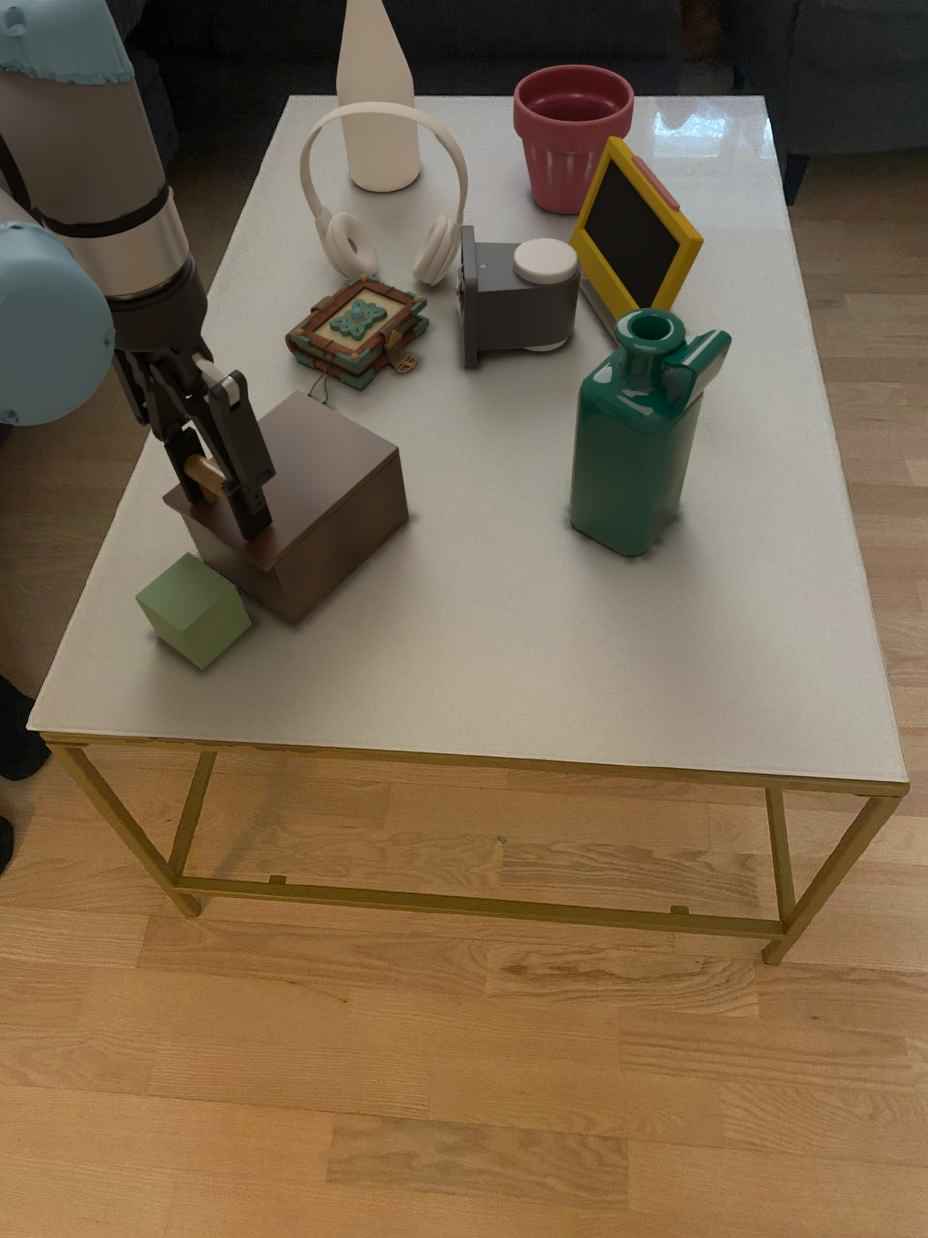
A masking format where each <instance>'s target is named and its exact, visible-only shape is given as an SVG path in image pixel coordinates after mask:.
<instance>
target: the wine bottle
mask: <svg viewBox="0 0 928 1238" xmlns="http://www.w3.org/2000/svg"><path fill="white" fill-rule="evenodd" d="M383 3H384V2H383V1H382V0H346V9H345V17H344V23H343V29H342V30H343V31H342V37H341V38H342V39H341V44H340V51H339V59H338V64H337V71H336V82H335V84H336V85H335V88H336V96H337V102H338V108H340V107H342V106H346V105H349V104H353V103H360V102H389V103H396V104H401V105H405V106H408V107H411V108H414V109H416V101H415V89H414V79H413V76H412V73H411V70H410V67H409V64H408V62H407V59H406V57H405V54H404V52H403V49H402V47H401V45H400V42H399V40H398V37H397V35H396V32H395V31H394V28H393V26H392V23H391V21H390V18H389V16H388V13H387V11H386V8H385V6H384V4H383ZM340 120H341V127H342V133H343V138H344V145H345V151H346V157H347V162H348V163H347V164H348V171H349V174H350V176H351V179H352V180H353V183H355V184H356V185H357V186H358V187H360V188H362V189H364V190H366V191H370V192H374V193H375V192H376V193H388V192H394V191H398V190H400V189H403V188H405V187H408V186H409V185H411V184H412V183H413V182H414V181H415V180H416V179H417V177H418V176H419V173H420V171H421V156H420V146H419V145H420V144H419V134H418V122H415V121H413V120H411V119H408V118H405V117H402V116H398V115H393V114H387V113H376V112H364V113H354V114H348V115H344V116H341V117H340Z"/></svg>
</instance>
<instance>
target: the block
mask: <svg viewBox="0 0 928 1238" xmlns="http://www.w3.org/2000/svg"><path fill="white" fill-rule="evenodd" d="M134 598H135V600H136V602H137V603H138V605H139V607H140V608H141V611H142V612H143V613H144V615H145V616H146V618H147V620H148V622H149V623H150V626H151V627H152V628H153V630H154V631H155V633H156V635H157V637H159V638H160V639H161V640H163V641H164V642H165V643H167V644H168V645H169V646H171V647H172V648H173V649H174V650H176V651H177V652H178V653H179V654H181V655H182V656H183V657H185V658H186V659H187V660H189V661H190V662H191V663H193V664H194V665H195V666H196V667H198V668H199V669H200V670H202V671H203V670H204V669H206V668H207V667H208V666H209V665H210V664H211V663H212V662H213V661H214V660H216V658H217V657H218V656H220V655H221V654H222V653H223V652H224V651H225V650H227V648H228V647H230V646H231V645H232V644H233V643H234V642H235V641H236V640H237V639H238V638H239V637H240V636H242V634H244V633H245V632H246V631H247V630H248V629H249V628H250V627H251V626H253V623H252V621H251V619H250V616H249V613H248V612H247V610H246V608H245V607H246V606H245V605H244V602H243V600H242V598H241V595H240V592H239V591H238V589H237V586H236V584H234V582H232V581H231V580H230V579H228V578H227V577H224V575H223V574H221V573H220V572H218V571H217V570H215V569H214V568H213V567H212V568H211V566H210V565H208V564H207V563H206V562H204V561H203V560H200V559H199V558H197V556H195V555H194V554H192V553H190V552H189V551H187V552H186V553H184V555H182V556H181V557H180V558H178V560H177V561H176V562H174V563H173V564H172V565H170V566H169V567H168V568H167V569H166V570H164V571H163V572H162V573H161V574H160V575H159V576H157V577H156V578H155V579H154V580H152V581H151V582H150V583H149V584H148V585H147V586H145V587H144V588H143V589H142V590H141V591H139V592H138V593H137V594H135V595H134Z"/></svg>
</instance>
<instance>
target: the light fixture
mask: <svg viewBox="0 0 928 1238" xmlns="http://www.w3.org/2000/svg"><path fill="white" fill-rule="evenodd" d="M475 240H476V238H475V227H474V225H462V226H461V242H460V266H459V267H458V269H457V285H456V287H455V288H454V290H455V292H456V293H455V294H456V304H457V311H458V318H459V319H458V320H460V324H461V333H462V351H463V353H462V354H463V366H464V367H477V361H478V360H477V356H478V351H491V350H506V349H518V348H520V349H521V348H523V349H524V350H528V351H532V352H548V351H552V350H555V349H559V348H560V347H561V346H562V345H564V344H565V343H566V342H567V340H568V338H570V337H571V335H572V334H573V332H574V329H575V321H576V314H577V306H578V299H579V290H580V287H579V286H580V280H581V275H582V268H581V263H580V260H579V258H578V256H577V253H576V252H575V250H574V249H573V248H572V247H571V246H570V245H568V244H569V243H566V242H564V241H563V240H559V239H555V238H549V237H539V238H533V239H529V240H527V241H525V242H523V243H521V242H520V243H519V242H482V241H480V242H479V241H478V242H477V241H475Z"/></svg>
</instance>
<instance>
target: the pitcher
mask: <svg viewBox="0 0 928 1238" xmlns="http://www.w3.org/2000/svg"><path fill="white" fill-rule="evenodd" d="M614 332H615V335H616V339H617V341H618V342H619V343H620V344H621V345H622V346H619V347H618V346H617V348H615V350H613V351H612V352H611V353H610V355H608V356H607V357H606V358H605V359H604V360H603V361H601V362H600V364H598V365H597V367H596V368H595V369H593V370H592V371H591V372H590V373H589V374H588V375H587V376H586V377H584V378H583V381H582V382H581V384H580V387H579V390H578V392H577V398H576V399H577V401H576V414H575V429H574V439H573V440H574V441H573V454H572V468H571V483H570V493H569V494H570V495H569V508H568V509H569V510H568V516H569V521H570V523H571V524H572V526H573V527H574V528H575V529H576V530H578V531H580V532H581V533H583V534H585V535H587V536H588V537H590V538H593V539H594V540H595V541H597V542H599V543H601V544H602V545H604V546H606V547H608V548H610V549H611V550H613V551H615V552H616V553H619V554H620V555H626V556H634V555H640V554H642V553H644V552H646V551H647V550H648V549H649V548H650V547H651V546H652V544H653V543H654V542H655V541H656V540H657V539H658V538H659V537H660V535H661V534H663V532H664V531H665V530H666V529H667V527H669V526H670V524H671V523H672V522H673V521H674V520H675V519H676V517H677V514H678V510H679V505H680V500H681V497H682V492H683V487H684V484H685V478H686V475H687V474H686V473H687V469H688V465H689V460H690V456H691V451H692V447H693V443H694V439H695V434H696V429H697V425H698V421H699V416H700V412H701V407H702V403H703V399H704V394H705V389H706V388H707V387H708V386H709V385H710V384H711V383H712V382H713V381H714V380H715V378H716V377H717V376H718V374H719V373H720V371H721V369H722V368H723V365H724V362H725V360H726V357H727V355H728V352H729V350H730V347H731V345H732V341H733V340H732V339H733V337H732V336H731V335H730V333H728V332H727V331H725V330H722V329H716V328H715V329H712V330H709V331H708V332H706V333H704V334H702V335H701V334H700V335H687V329H686V326H685V324H684V321H682V319H680V318H679V317H678V316H677V315H676V314H675V313H673V312H672V313H670V312H668V311H666V310H663V309H657V308H650V307H649V308H640V309H635V310H633V311H630V312H628V313H625V314H624V315H623V316H622V317H621V318H620V319H619V320H618V321H617V323H616V326H615V329H614Z"/></svg>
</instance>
